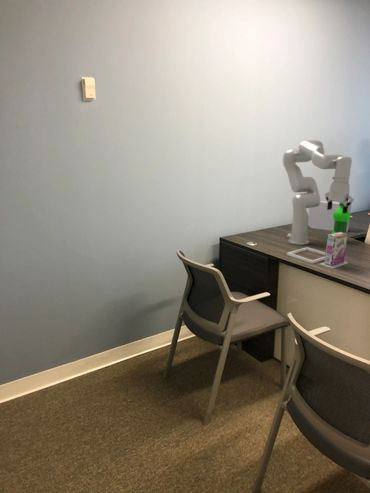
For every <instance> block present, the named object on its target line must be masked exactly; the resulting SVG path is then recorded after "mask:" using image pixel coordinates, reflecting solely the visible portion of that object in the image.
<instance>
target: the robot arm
mask: <svg viewBox="0 0 370 493" xmlns="http://www.w3.org/2000/svg"><path fill="white" fill-rule="evenodd" d="M298 144H299V145H298V148H292V149H288V150H286V151H285V152H284V153H283V158H282V163H283V167H284V169H285V171H286V174H287V177H288V180H289V182H288V183H289V185H290V188H291V191H292V192H293V193H296V194H295V195H294V196H293V197H292V200H291V201H292V203H291V204H292V224H291V226H292V227H291V233H290V232H289V233H287V235H286V237H288V238H289V239H288V243H290V244H291V245H292V244H293V245H298V246H300V245H301V246H305V245H308V244H310V243H309V242H310V241H309V239H307V237H308V228H309V225H308V217H309V211H307V209H309V208H315V207H318V206H319V204H320V201H321V194H320V193H319V192H320V191H319V189H318V185H317V182H316V180H315V179H314V178H313V177H312V176H304V175H303V172H302V169H301V168H300V166H299V165H297V164H296V163H298V164H299V163H308V162H312V164H313V166H315V167H316V168H319V169H321V170H334V174H333V175H334V176H332V180H333V181H332V182H331V184H330V186H329V192H326V193H324V196H325V201H327V202H328V206H327V210H330V209H332V204H333V203H332V202H343V204H344V206H343V212H342V213H343V214H344V213H347V211H348V206H349V205H350V204H351V205H352V203H353V202H354V200H355V199H354V198H353V197H352V196H351V195H350V189H351V188H350V186H351V185H350V183H349V182H350V177H351V171H352V170H351V168H352V162H353V159H352V157H351V156H344V155H342V154H326V155H325V149H324V144H323V142H322V141H321V140H317V139H307V140H306V139H305V140H303V141H300V143H298Z"/></svg>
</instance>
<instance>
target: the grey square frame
mask: <svg viewBox="0 0 370 493" xmlns="http://www.w3.org/2000/svg"><path fill="white" fill-rule="evenodd" d="M306 251H309V252H312V253H315V254H318V255H322V257H319V258H316V259H315V258H314V259H309V258H307V257H303V256H300V255H298V253H302V252H306ZM325 253H326V251H323V250H319V249H315V248H311V247H309V246H306V247H303V248H300V249H299V248H298V249H295V250H292V251H288V252H287V253H286V255H287V256H289V257H291V258H295V259H298V260H301V261H303V262H307V263H310V264H317V263H319V262H323V261H325Z"/></svg>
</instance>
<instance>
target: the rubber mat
mask: <svg viewBox="0 0 370 493" xmlns="http://www.w3.org/2000/svg"><path fill="white" fill-rule="evenodd" d="M347 264H349V262H348V261H345V260H344V262H343V263H339V264H336V265H333V266H330V265H327V264H324V262H321V263H319V265H321V266H323V267H327V268H329V269H331V270H333V269H336V268H339V267H342V266H344V265H347Z"/></svg>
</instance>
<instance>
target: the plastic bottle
mask: <svg viewBox="0 0 370 493" xmlns="http://www.w3.org/2000/svg"><path fill="white" fill-rule="evenodd" d="M339 206H340V208H339V209H337V210H336V211H335V212H334V213H333V219H334V220H335V221H334V230H333V231H331V234H334V233H338V232H342V233H346V234H348V231H347V232H346V230H347V221H348V220H349V221H350V219H351V212H350V213H349V212H348V211H347V213H344V214H343V213H342V212H343V206H344V204H343V202H340V204H339Z"/></svg>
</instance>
